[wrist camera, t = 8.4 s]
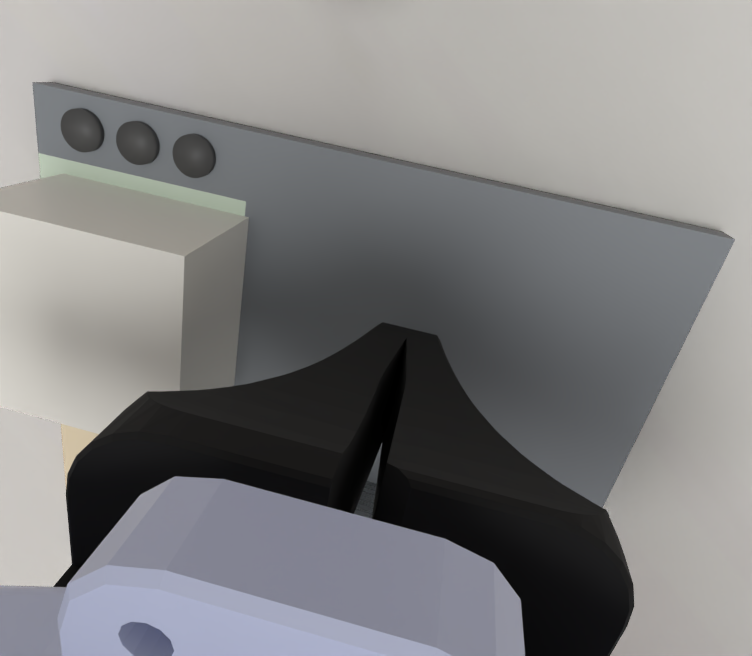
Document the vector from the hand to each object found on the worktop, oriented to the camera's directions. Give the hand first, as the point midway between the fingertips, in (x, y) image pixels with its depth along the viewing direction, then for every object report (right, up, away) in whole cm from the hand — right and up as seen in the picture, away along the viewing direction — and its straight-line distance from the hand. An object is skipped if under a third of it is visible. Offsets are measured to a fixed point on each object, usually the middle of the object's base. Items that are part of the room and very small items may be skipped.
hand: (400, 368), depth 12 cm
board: (-3, -5, +5) cm, 7 cm away
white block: (-6, +2, +1) cm, 6 cm away
